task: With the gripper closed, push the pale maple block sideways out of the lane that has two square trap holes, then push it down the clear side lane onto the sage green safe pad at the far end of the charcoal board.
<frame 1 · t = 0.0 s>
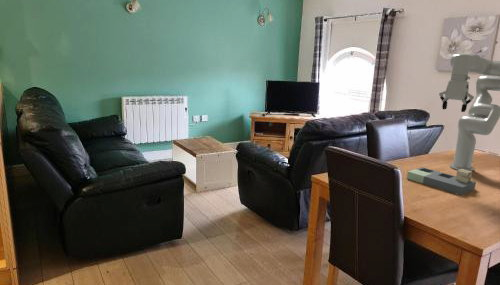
hand: (453, 110, 195), 37 cm above the table, tool pointing down, fingers open, 9 cm apart
maple block: (462, 180, 183), point 4 cm above the table, touching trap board
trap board: (439, 183, 189), on the table
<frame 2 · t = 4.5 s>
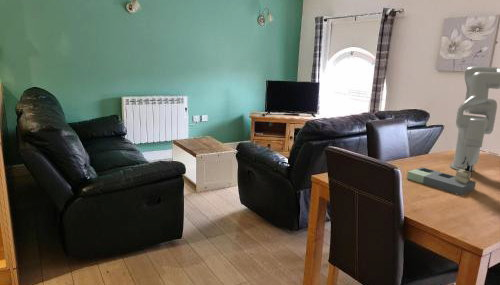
hand: (466, 177, 185), 5 cm above the table, tool pointing down, fingers closed
maple block: (462, 180, 182), point 4 cm above the table, touching gripper, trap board
everything else where it was.
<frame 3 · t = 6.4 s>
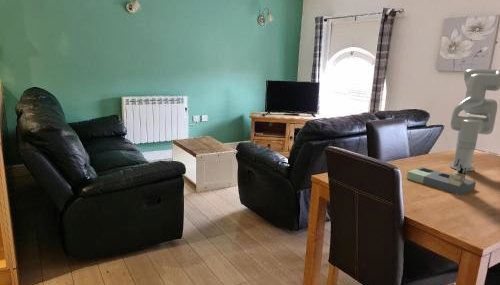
hand: (460, 180, 181), 5 cm above the table, tool pointing down, fingers closed
maple block: (455, 183, 178), point 4 cm above the table, touching gripper, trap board
everything else where it was.
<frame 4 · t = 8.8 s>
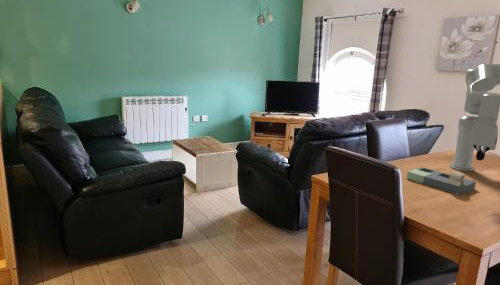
hand: (479, 159, 169), 18 cm above the table, tool pointing down, fingers closed
maple block: (455, 183, 178), point 4 cm above the table, touching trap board
everything else where it was.
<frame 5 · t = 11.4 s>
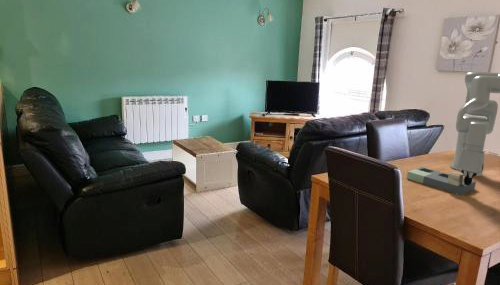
hand: (467, 184, 175), 5 cm above the table, tool pointing down, fingers closed
maple block: (454, 183, 178), point 4 cm above the table, touching gripper
everything else where it was.
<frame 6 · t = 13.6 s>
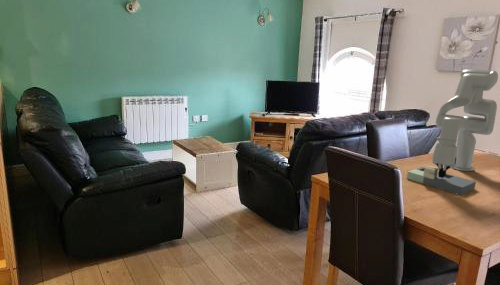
hand: (441, 177, 184), 5 cm above the table, tool pointing down, fingers closed
maple block: (429, 177, 187), point 4 cm above the table, touching gripper
everything else where it was.
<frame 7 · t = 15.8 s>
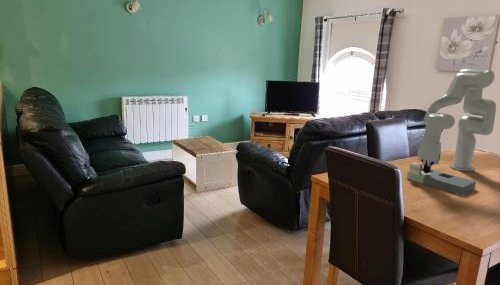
hand: (426, 172, 190), 5 cm above the table, tool pointing down, fingers closed
maple block: (415, 173, 192), point 4 cm above the table, touching gripper, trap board
everything else where it was.
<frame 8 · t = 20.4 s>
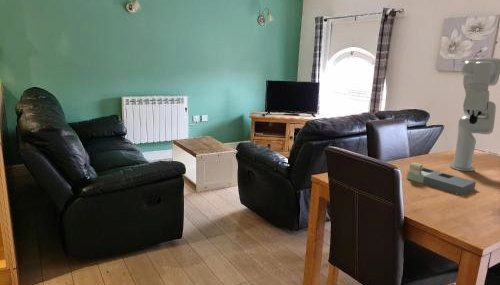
hand: (472, 123, 184), 32 cm above the table, tool pointing down, fingers closed
maple block: (415, 173, 192), point 4 cm above the table, touching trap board
everything else where it was.
at the end: maple block inside the target area on the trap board (3.2 cm from its centre), point 4.0 cm above the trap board's base; maple block tilted 0° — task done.
